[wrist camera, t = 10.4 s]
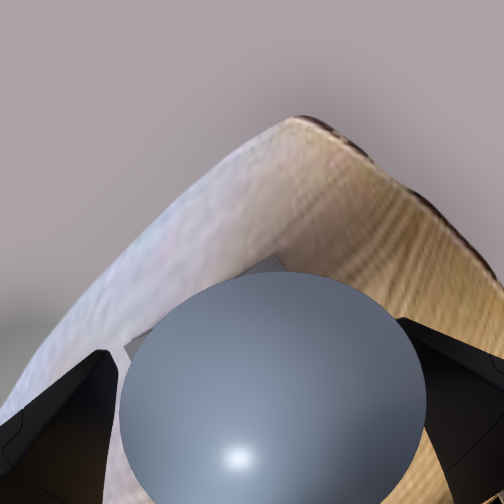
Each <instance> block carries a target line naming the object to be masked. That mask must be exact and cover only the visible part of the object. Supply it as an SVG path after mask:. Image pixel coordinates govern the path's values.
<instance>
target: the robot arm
mask: <svg viewBox="0 0 504 504" xmlns="http://www.w3.org/2000/svg"><path fill="white" fill-rule="evenodd" d="M395 320H396V321H397V323H398V324H399V325H400V326H401V328H402V329H403V330H404V331H405V333H406V335H407V336H408V338H409V340H410V341H411V343H412V345H413V347H414V349H415V351H416V354H417V356H418V359H419V361H420V364H421V368H422V372H423V376H424V381H425V389H426V415H425V422H424V427H425V430H426V432H427V434H428V436H429V439H430V441H431V443H432V446H433V448H434V450H435V453H436V455H437V457H438V460H439V462H440V465H441V467H442V470H443V472H444V475H445V478H446V481H447V483H448V486H449V489H450V492H451V494H452V497H453V500H454V503H455V504H482V503H483V502H485V501H487V500H488V499H490V498H492V497H493V496H495V495H496V494H497V495H496V496H495V497H494V498H493V499H492V500H490V501H489V502H488V503H487V504H504V359H501V358H499V357H496V356H494V355H492V354H488V353H487V352H485V351H482V350H480V349H478V348H475V347H473V346H471V345H468V344H466V343H464V342H461V341H459V340H457V339H454V338H452V337H450V336H447V335H445V334H443V333H440V332H438V331H436V330H433V329H431V328H429V327H426V326H424V325H422V324H419V323H417V322H415V321H412V320H410V319H408V318H405V317H401V318H398V319H395ZM117 383H118V369H117V366H116V364H115V362H114V360H113V358H112V356H111V354H110V352H109V351H108V350H101V349H98V350H95V351H94V352H92V353H91V354H90V355H89V356H87V357H86V358H85V359H84V360H82V361H81V362H80V363H78V364H77V365H76V366H75V367H73V368H72V369H71V370H70V371H68V372H67V373H66V374H65V375H63V376H62V377H61V378H60V379H58V380H57V381H56V382H55V383H53V384H52V385H51V386H50V387H48V388H47V389H46V390H45V391H43V392H42V393H41V394H40V395H39V396H37V397H36V398H35V399H34V400H32V401H31V402H30V403H29V404H27V405H26V406H25V407H24V409H21V410H20V411H19V412H18V413H17V414H15V415H14V416H13V417H12V418H10V419H9V420H8V421H6V422H5V423H4V424H2V425H1V426H0V504H102V503H103V490H104V480H105V472H106V464H107V456H108V450H109V443H110V437H111V431H112V426H113V420H114V414H115V404H116V393H117Z"/></svg>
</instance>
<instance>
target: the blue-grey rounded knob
mask: <svg viewBox="0 0 504 504" xmlns="http://www.w3.org/2000/svg"><path fill="white" fill-rule="evenodd" d="M425 415H426V389H425V381H424V376H423V372H422V368H421V364H420V361H419V359H418V356H417V354H416V351H415V349H414V347H413V345H412V343H411V341H410V340H409V338H408V336H407V335H406V333H405V331H404V330H403V329H402V328H401V326H400V325H399V324H398V323H397V321H396V320H395V319H394V318H393V317H392V316H391V315H390V314H389V313H388V312H387V311H386V310H385V309H384V308H383V307H382V306H381V305H379V304H378V303H377V302H375V301H374V300H373V299H371V298H370V297H368V296H367V295H366V294H364V293H362V292H360V291H358V290H356V289H354V288H353V287H351V286H349V285H346V284H344V283H341V282H338V281H336V280H333V279H330V278H326V277H322V276H318V275H314V274H307V273H299V272H265V273H258V274H250V275H246V276H242V277H238V278H234V279H230V280H227V281H224V282H222V283H219V284H217V285H214V286H211V287H209V288H207V289H205V290H203V291H201V292H199V293H198V294H196V295H194V296H192V297H190V298H189V299H187V300H186V301H184V302H183V303H182V304H180V305H179V306H177V307H176V308H175V309H173V310H172V311H171V312H170V313H169V314H168V315H167V316H165V317H164V318H163V319H162V320H161V321H160V322H159V323H158V324H157V325H156V326H155V327H154V329H153V330H152V331H151V332H150V333H149V335H148V336H147V337H146V338H145V340H144V341H143V343H142V344H141V346H140V348H139V349H138V351H137V353H136V354H135V356H134V358H133V360H132V362H131V365H130V367H129V369H128V372H127V374H126V377H125V381H124V385H123V389H122V392H121V400H120V410H119V420H120V433H121V438H122V443H123V447H124V451H125V454H126V457H127V459H128V462H129V464H130V467H131V469H132V471H133V473H134V474H135V476H136V478H137V480H138V481H139V483H140V485H141V486H142V487H143V489H144V490H145V491H146V493H147V494H148V495H149V496H150V498H151V499H152V500H153V501H154V502H155V503H156V504H380V503H381V502H382V501H383V500H384V499H385V498H386V497H387V496H388V495H389V494H390V493H391V492H392V491H393V489H394V488H395V487H396V485H397V484H398V483H399V482H400V480H401V479H402V477H403V476H404V474H405V473H406V471H407V469H408V467H409V466H410V464H411V462H412V460H413V458H414V456H415V453H416V451H417V448H418V446H419V443H420V439H421V436H422V432H423V428H424V422H425Z"/></svg>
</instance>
